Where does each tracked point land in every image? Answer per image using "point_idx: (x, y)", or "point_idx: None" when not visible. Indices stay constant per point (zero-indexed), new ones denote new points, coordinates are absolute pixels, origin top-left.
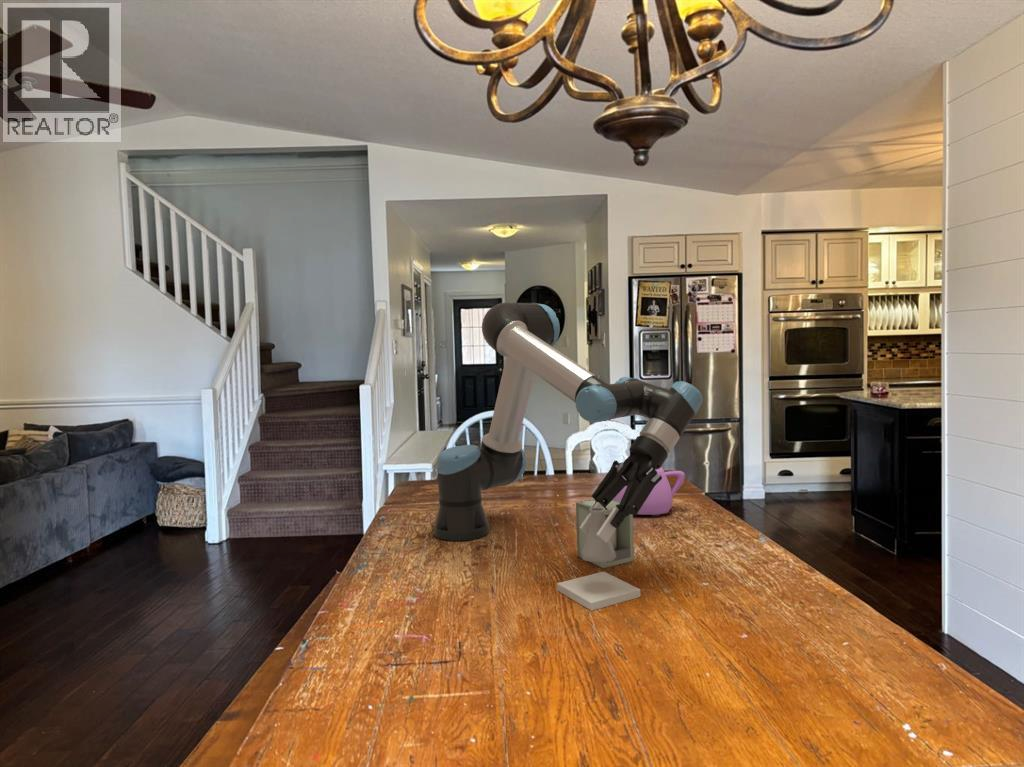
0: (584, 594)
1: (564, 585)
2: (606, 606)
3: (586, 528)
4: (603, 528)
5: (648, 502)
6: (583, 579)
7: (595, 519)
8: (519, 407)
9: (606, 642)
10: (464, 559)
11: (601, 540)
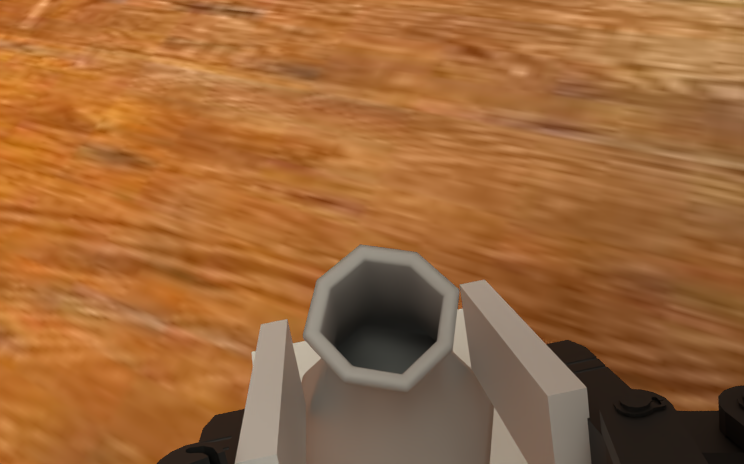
0: None
1: (458, 321)
2: None
3: (469, 326)
4: (256, 352)
5: None
6: (501, 424)
7: (345, 309)
8: None
9: (34, 312)
10: None
11: (315, 384)
